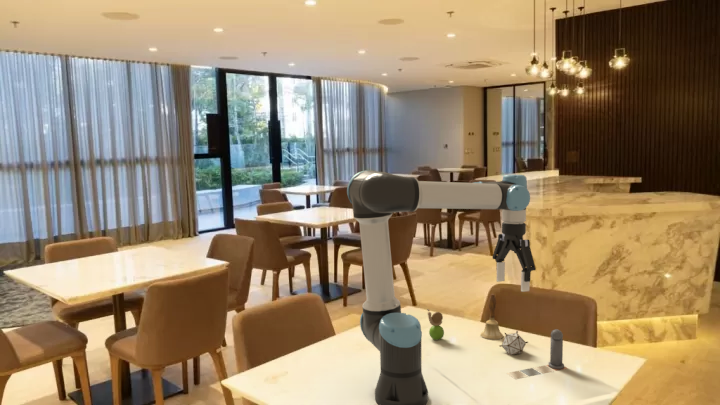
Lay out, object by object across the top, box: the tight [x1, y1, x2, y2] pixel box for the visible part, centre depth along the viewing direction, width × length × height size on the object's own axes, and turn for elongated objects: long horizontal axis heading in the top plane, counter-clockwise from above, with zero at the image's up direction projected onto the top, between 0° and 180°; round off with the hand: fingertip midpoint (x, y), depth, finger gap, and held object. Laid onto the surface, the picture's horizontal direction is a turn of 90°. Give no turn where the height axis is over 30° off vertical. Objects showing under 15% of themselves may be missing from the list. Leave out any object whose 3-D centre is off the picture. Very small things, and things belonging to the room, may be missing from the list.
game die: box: [499, 330, 529, 356], centre depth 183 cm, size 9×8×10 cm
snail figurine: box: [427, 309, 445, 341], centre depth 199 cm, size 5×6×12 cm
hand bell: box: [480, 293, 504, 341], centre depth 201 cm, size 8×8×16 cm
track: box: [506, 364, 568, 380], centre depth 168 cm, size 21×7×1 cm, turn 110°
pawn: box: [548, 328, 565, 370], centre depth 170 cm, size 5×5×12 cm
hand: (512, 286), depth 178 cm, fingers open, 13 cm apart
